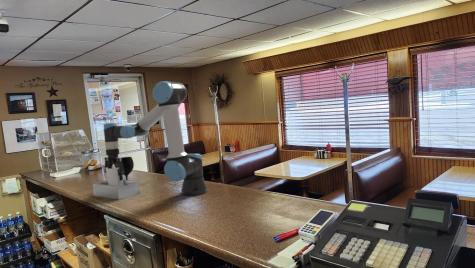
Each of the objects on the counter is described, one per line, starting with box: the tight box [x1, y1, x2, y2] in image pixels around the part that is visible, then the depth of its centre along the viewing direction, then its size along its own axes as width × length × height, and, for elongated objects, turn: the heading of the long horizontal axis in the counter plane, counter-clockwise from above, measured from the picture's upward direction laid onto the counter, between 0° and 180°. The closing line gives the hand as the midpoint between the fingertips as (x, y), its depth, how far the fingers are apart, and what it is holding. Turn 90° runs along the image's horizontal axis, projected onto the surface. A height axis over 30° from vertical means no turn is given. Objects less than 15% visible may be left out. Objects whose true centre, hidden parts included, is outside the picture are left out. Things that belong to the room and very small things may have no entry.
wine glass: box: [121, 156, 135, 180], centre depth 217 cm, size 10×10×20 cm
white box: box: [104, 165, 119, 187], centre depth 198 cm, size 10×10×12 cm
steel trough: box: [92, 179, 141, 201], centre depth 198 cm, size 24×15×8 cm, turn 57°
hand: (115, 185), depth 198 cm, fingers closed on white box, 9 cm apart
